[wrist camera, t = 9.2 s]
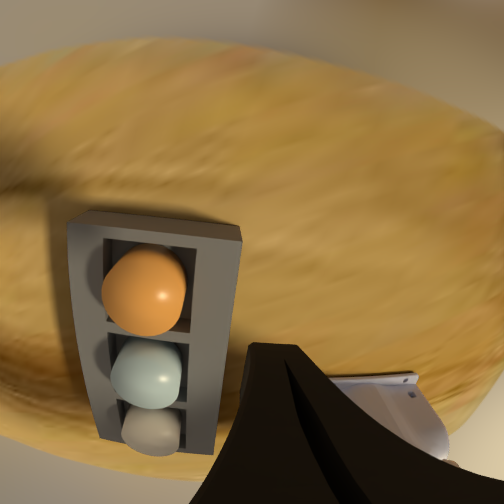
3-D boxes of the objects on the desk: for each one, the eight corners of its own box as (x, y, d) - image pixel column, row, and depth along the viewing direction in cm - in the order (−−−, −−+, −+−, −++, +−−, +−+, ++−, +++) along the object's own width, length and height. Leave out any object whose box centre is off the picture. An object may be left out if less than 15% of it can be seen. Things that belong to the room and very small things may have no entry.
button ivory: (181, 400, 19) (178, 427, 17) (181, 433, 21) (179, 459, 18) (125, 391, 19) (117, 418, 16) (131, 426, 20) (125, 451, 18)
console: (239, 226, 18) (242, 241, 15) (213, 427, 23) (213, 455, 20) (89, 210, 17) (66, 222, 14) (108, 412, 22) (100, 438, 19)
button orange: (190, 247, 16) (184, 266, 14) (185, 315, 17) (180, 341, 15) (117, 239, 15) (100, 255, 13) (118, 305, 17) (104, 329, 14)
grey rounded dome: (184, 336, 18) (179, 364, 15) (182, 385, 19) (178, 413, 16) (119, 327, 17) (106, 352, 15) (123, 376, 18) (114, 402, 16)
